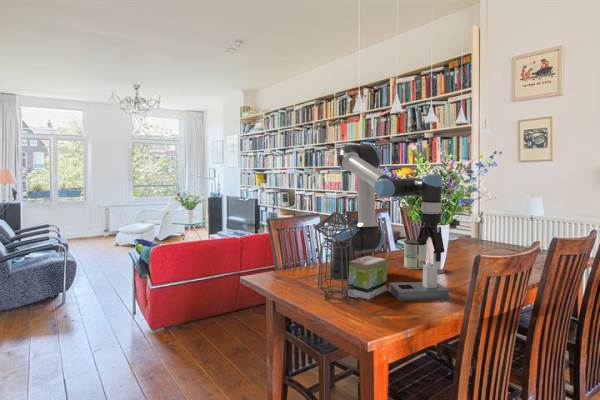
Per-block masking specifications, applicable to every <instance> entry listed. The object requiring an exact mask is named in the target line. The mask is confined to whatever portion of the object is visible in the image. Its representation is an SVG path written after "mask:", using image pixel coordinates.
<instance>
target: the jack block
mask: <svg viewBox="0 0 600 400" xmlns="http://www.w3.org/2000/svg"><path fill="white" fill-rule="evenodd" d="M388 291H389V293H390V294H391V295H392V296H393V297H394V298H395V299H396V300H397V301H398V302H401V301H404V302H406V301H430V300H431V301H433V300H437V301H438V300H449V297H450V296H449V289H447V288H446V287H444V285H441V284H440V283H439V282H437V288H425V287H424V286H423V281H412V282H411V281H409V282H407V281H405V282H404V281H403V282H389V283H388Z"/></svg>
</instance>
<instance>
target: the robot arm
mask: <svg viewBox="0 0 600 400" xmlns="http://www.w3.org/2000/svg"><path fill="white" fill-rule="evenodd" d="M382 157H383V156H382V153H381V151H380V149H379V148H378V147H377V146H376V145H371V144H347V145H344V146H343V147H341V148H340V150H338V153H337V156H336V159H337V160H336V161H337V163H338V165H339V166H340V167H341V168H342V169H343V170H344V171H347V172H351V173H353V175H355V176H356V182H357V213H358V214H357V215H358V216H357V217H358V222H357V223H358V225H357V227H356V229H355V231H354V233H353V238H352V251H353V260H356V259H357V254H359V253H368V252H375V251H379V250H380V249H381V248H382V247H383V245H384V242H385V234H384V232H383V229H381V228H380V225H379V224H378V223H377V221H376V196H377V197H379V198H386V199H387V198H388V199H389V198H397V197H399V198H400V197H401V198H402V197H421V204H420V206H421V207H420V210H421V214H420V221H421V222H420V228H419V233H418V237H417V239H416V240H417V242H419V245H420V252H419V260H420V261H424V262H425V261H427V249H428V246H427V245H428V243H427V242H428V240H429V238H430V240H431V243H432V246H433V252H432V253H433V259H432V262H433V263H432V264H433V269H437V270H441V267H442V254H443V253H444V252H445V247H444V240H443V234H442V227H441V226H438V224H440V223H442V214H441V212H442V206H443V205H442V194H443V176H442V175H441V174H439V173H438V174H437V173H436V174H435V173H425V174H422V178H415V177H406V178H393V177H392V176H390V175H388V174H386V173H385V172H383V171H381V170H380V169H378V168H379V167H380V166H381V164H382V159H383V158H382ZM375 194H376V195H375ZM346 227H347V228H348V226H346ZM351 228H352V227H351ZM339 229H344V226H342V227H339ZM345 229H346V228H345ZM349 229H350V228H349ZM335 232H336V231H333V235H334V234H335ZM339 232H341V231H339V230H338V231H337V232H336V234H337V233H339ZM352 232H353V229H352ZM346 233H347V234H348V236H349V238H350V240H351V237H350V230H346V232H345V231H344V232H342V233H340V234H338V235H336V236H335V237H336V239H337V240H338V241H348V240H349V238H348V236H347V234H346ZM331 239H332V238H331ZM332 240H333V241H332V275H331V278H333V279H342V268H341V248H333V247H340V246H339V244H340V245H341V247H346V245H347V243H348V245H349V242H339V244H338V243H337V242H335V241H336V240H335V238H333V239H332ZM350 240H349V241H350ZM346 248H347V263H348V279H349V262H350V245H349V246H348V247H346ZM342 257H343V279H344V280H347V269H346V253H345V248H342ZM351 261H352V254H351ZM328 273H329V274H328V275H329V276H330V269H328Z"/></svg>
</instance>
